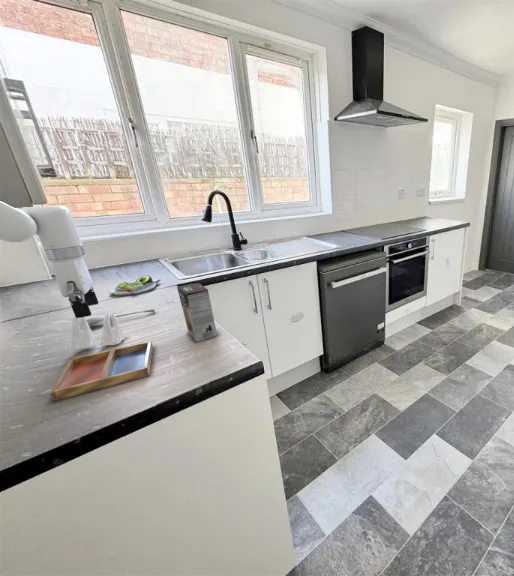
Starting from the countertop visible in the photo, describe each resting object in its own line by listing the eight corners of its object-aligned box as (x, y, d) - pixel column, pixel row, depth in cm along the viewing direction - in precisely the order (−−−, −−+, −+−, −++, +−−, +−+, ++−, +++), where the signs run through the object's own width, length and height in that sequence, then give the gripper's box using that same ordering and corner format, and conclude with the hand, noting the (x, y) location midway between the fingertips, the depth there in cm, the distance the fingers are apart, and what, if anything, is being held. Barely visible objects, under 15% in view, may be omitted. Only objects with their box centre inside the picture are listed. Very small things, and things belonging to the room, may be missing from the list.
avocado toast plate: (156, 293, 136) (153, 283, 135) (104, 300, 129) (101, 290, 127) (163, 281, 153) (160, 272, 151) (117, 286, 145) (114, 277, 144)
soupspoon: (78, 328, 106) (76, 336, 102) (74, 319, 105) (72, 327, 100) (154, 309, 119) (156, 315, 114) (152, 301, 118) (153, 307, 113)
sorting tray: (53, 401, 70) (49, 392, 69) (73, 366, 84) (70, 358, 83) (149, 376, 79) (146, 368, 78) (153, 347, 93) (151, 340, 92)
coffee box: (187, 332, 101) (176, 286, 96) (208, 326, 106) (199, 282, 100) (196, 342, 95) (184, 293, 90) (218, 335, 100) (208, 288, 94)
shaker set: (71, 356, 88) (57, 321, 85) (73, 349, 92) (60, 316, 88) (124, 343, 95) (113, 310, 91) (125, 338, 98) (114, 306, 94)
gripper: (57, 249, 89) (78, 303, 95) (35, 262, 75) (61, 325, 81) (91, 245, 92) (109, 298, 98) (76, 257, 79) (98, 318, 85)
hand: (88, 310), depth 90 cm, fingers open, 9 cm apart
